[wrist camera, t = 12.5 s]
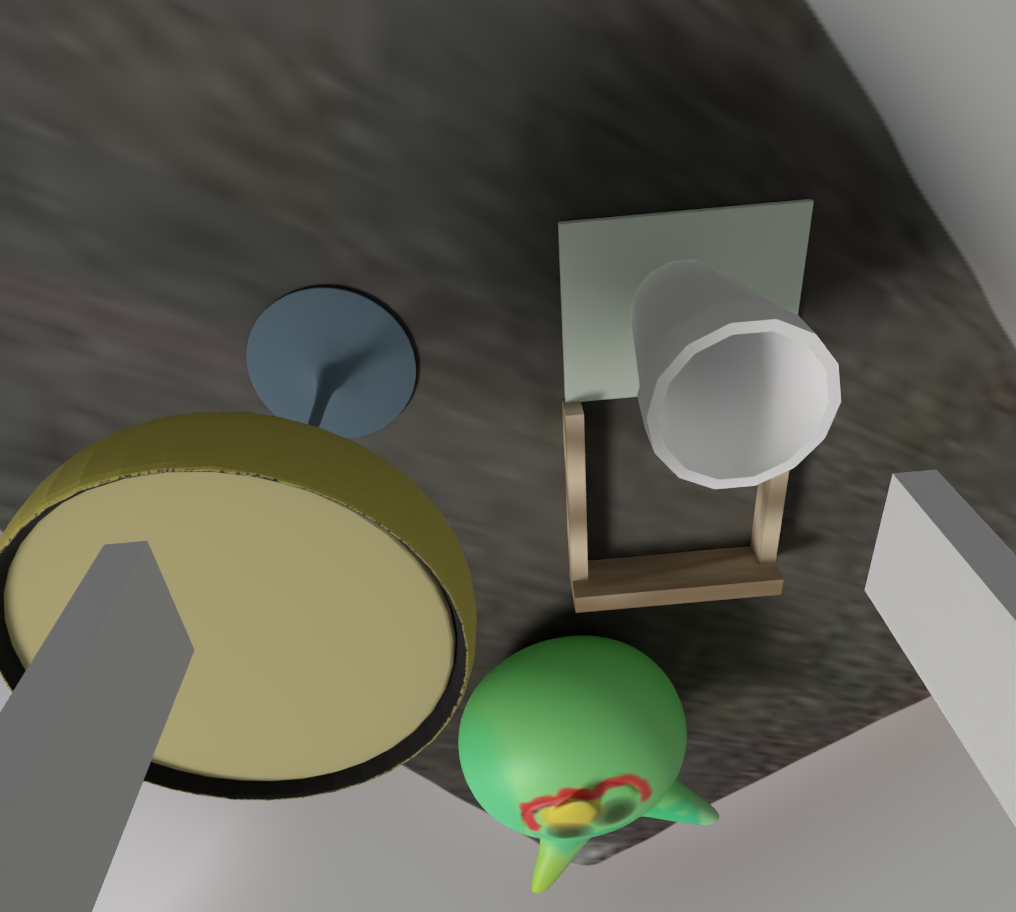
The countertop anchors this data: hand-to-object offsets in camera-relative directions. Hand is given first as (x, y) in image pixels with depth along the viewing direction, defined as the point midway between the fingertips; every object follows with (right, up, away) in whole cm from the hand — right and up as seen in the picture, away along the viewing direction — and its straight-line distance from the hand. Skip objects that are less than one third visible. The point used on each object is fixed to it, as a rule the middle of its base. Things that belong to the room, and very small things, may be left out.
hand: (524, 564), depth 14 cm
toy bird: (+5, -17, +53) cm, 55 cm away
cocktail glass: (-12, +8, +36) cm, 39 cm away
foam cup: (+11, +11, +34) cm, 38 cm away
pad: (+11, +12, +35) cm, 38 cm away
